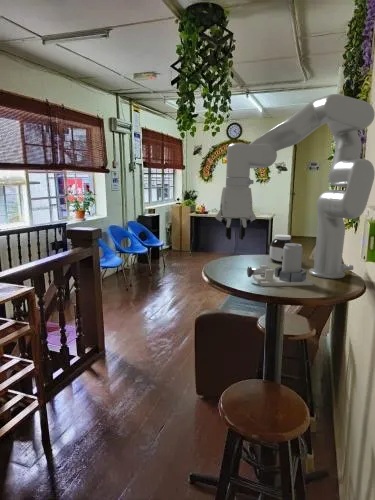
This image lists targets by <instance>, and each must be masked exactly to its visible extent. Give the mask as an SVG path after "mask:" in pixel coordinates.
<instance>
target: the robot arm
mask: <svg viewBox="0 0 375 500" xmlns="http://www.w3.org/2000/svg"><path fill="white" fill-rule="evenodd" d="M374 119H375V109H374V107H373V105H372V104H371V103H369V102H368V101H366V100H362V99H358V98H354V97H351V96H347V95H343V94H339V93H331V94H328V95H326V96H322V97H319V98H316V99H313V100H312V101H310V102H309V103H307V104H306V105H305V106H303V107H302V108H300V109H299V110H298V111H296V112H295V113H294V114H293V115H291V116H290V117H288V118H287V119H285V120H284V121H283V122H281V123H280V124H279V123H278V125H276V126H274V127H273V128H271V129H270V130H268V131H266V132H264V133H263V134H262V135H260V136H259V137H257V138H256V139H254V140H253V141H252V142H251V143H249V144H248V143H245V142H244V143H243V142H237V143H230V144H229V145H228V146H227V148H226V149H227V150H226V171H225V172H226V174H225V177H226V178H225V186H224V187H222V191H221V196H220V203H219V204H220V205H219V211H218V212H217V214H216V216H215V217H214V218H215V219H216V220H217V221H219V222H221V224H223V226H224V227H225V230H224V231H225V234H224V235H225V237H226V239H227V240H229V241H230V240H232V227H231V223H232V219H239V220H240V226H239V227H238V239H240V240H241V241H242V240H244V237H245V236H246V228H247V226H249V224H250V223H252V222H253V221H255V220H256V219H257V215H256V214H255V213H254V211H253V194H252V188H251V187H250V186H251V185H254V179H251V177H250V176H251V175H250V173H251V169H266V168H268V167H271V166H272V165H273V164H274V163H276V160H277V158H278V154H277V152H279V151H281V150H283V149H286V148H290V147H293V146H295V145H297V144H298V143H300V142H302V141H303V140H304V139H306V138H307V137H308V136H309V135H311V134H312V133H313V132H314V131H316V130H317V129H318V128H320V127H322V126H323V125H326V124H327V128H328V130H329V131H330V133H331V134H332V136H333V138H334V141H335V149H334V154H333V157H332V161H331V165H330V169H329V173H328V181H329V183H330V184H331V185H332V186H334V187H341V188H345V190H343V189H329V190H326V191H324V192H322V193H321V194H320V195H319V196H318V198H317V201H316V210H317V231H316V238H315V240H316V241H315V242H316V243H315V251H314V259H313V260H314V263H313V267H311V268H309V270H308V273H309V274H310V275H312V276H314V277H316V278H317V277H319V278H323V279H333V280H335V279H342V278H344V277H346V273H345V271H354V265H352V264H344V263H342V262H343V261H342V260H343V253H344V243H345V235H346V224H345V220H344V219H349V220H351V219H352V220H353V219H357V218H359V217H361V216H362V215H363V213H364V211H365V210H366V208H367V205H368V203H369V202H368V201H369V198H370V194H371V191H372V188H373V185H374V180H375V167H374V165H373V163H372V162H371V161H370V160H368V159H366V158H361V152H362V148H363V147H362V146H363V144H362V141H361V137H360V136H359V134H358V132H357V131H361V130H364V129H366V128H368V127H369V126H371V125H372V123H373V121H374Z"/></svg>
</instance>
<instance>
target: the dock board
mask: <svg viewBox="0 0 375 500" xmlns="http://www.w3.org/2000/svg"><path fill="white" fill-rule="evenodd" d="M265 268H269V267H268V265H266V264H265V265H263V264H262V265H259V269H265ZM251 277H252V279H253V280H254V281H255V282H256V283H257V284H259V285H260V286H261V287H281V286H282V287H287V286H292V287H293V286H314V281H312V280H311V279H309V278H308V277H306V280H304V281H302V282H287V281H282V280H279V278H280V276H278V277H275V273H274V269H271V268H270V269H265V275H252V276H251Z"/></svg>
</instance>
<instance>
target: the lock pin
mask: <svg viewBox="0 0 375 500" xmlns="http://www.w3.org/2000/svg"><path fill="white" fill-rule="evenodd" d="M265 269H271V268H269V267H268V268H265ZM265 269H260V268H252V266H247V269H246V275H247V277H248V278H251V277H252V276H253V275H265Z"/></svg>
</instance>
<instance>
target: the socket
mask: <svg viewBox="0 0 375 500" xmlns="http://www.w3.org/2000/svg"><path fill="white" fill-rule="evenodd" d="M307 271H308V270H306V269H304V268H302V267H301V272H300V273H290V272H284V271H282V266H281V265H280V266H277V267H275V269H274V274H275V277H278V276H280V278H279V280H282V281H287V282H302V281H304V280H306V278H307Z"/></svg>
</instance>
